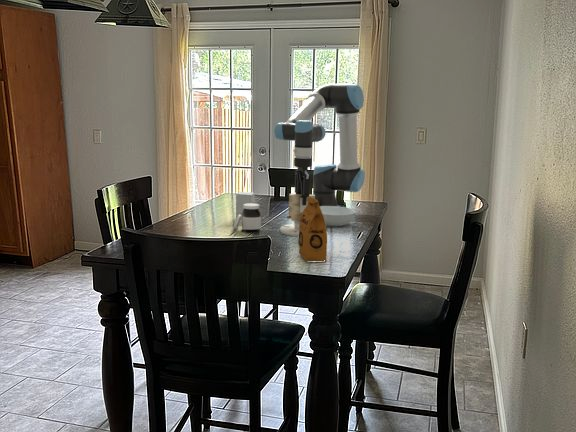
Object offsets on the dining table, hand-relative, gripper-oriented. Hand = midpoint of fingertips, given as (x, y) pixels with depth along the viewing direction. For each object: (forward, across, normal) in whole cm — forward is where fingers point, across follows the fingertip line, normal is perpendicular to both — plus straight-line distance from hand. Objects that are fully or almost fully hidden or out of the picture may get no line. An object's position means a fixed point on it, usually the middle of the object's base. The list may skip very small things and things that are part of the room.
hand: (301, 211), depth 247 cm
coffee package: (+9, +41, -10) cm, 43 cm away
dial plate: (+9, 0, 0) cm, 9 cm away
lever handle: (+4, 0, 0) cm, 4 cm away
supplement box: (+9, -30, -18) cm, 36 cm away
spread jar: (+9, -7, -23) cm, 25 cm away
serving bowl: (+9, -11, +19) cm, 24 cm away
